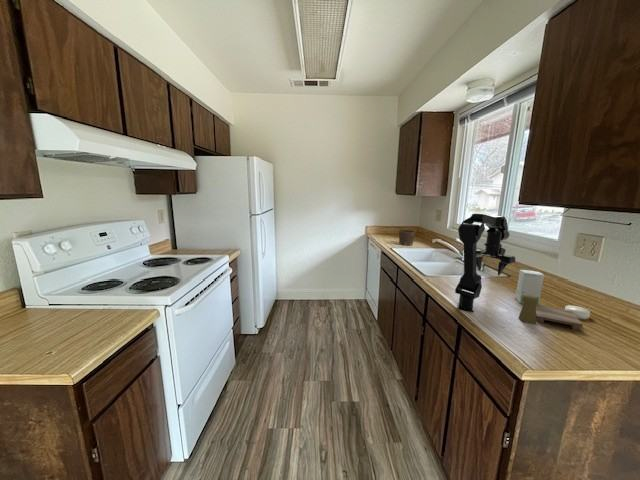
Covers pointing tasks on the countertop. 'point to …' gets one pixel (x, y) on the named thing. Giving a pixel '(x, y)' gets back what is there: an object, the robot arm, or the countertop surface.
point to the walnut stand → (557, 316)
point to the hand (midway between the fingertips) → (488, 272)
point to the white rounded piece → (578, 311)
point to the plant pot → (406, 237)
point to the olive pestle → (529, 309)
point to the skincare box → (529, 284)
